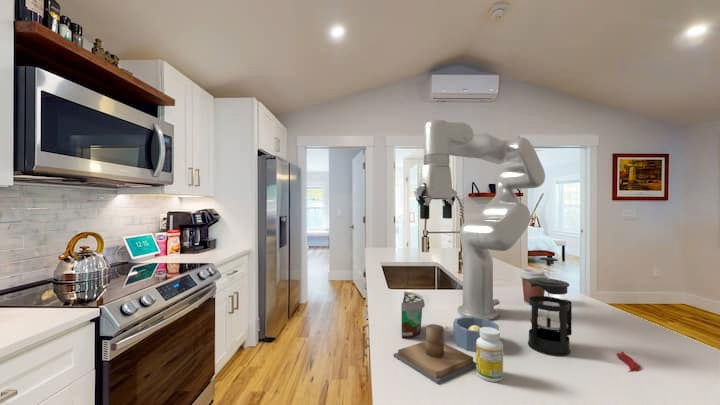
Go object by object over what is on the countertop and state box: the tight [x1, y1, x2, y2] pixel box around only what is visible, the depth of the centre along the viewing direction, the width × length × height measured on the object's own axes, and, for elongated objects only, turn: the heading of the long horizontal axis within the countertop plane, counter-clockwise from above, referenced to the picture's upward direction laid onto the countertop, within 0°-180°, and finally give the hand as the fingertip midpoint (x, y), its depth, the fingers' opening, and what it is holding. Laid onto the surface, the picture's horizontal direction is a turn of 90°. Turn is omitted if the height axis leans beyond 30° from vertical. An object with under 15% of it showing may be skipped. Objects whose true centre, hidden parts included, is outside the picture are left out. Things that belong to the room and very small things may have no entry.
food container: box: [400, 291, 426, 340], centre depth 90 cm, size 12×6×10 cm, turn 168°
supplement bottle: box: [475, 327, 504, 383], centre depth 67 cm, size 5×5×10 cm
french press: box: [527, 256, 573, 357], centre depth 81 cm, size 12×9×23 cm
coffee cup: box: [519, 268, 548, 306], centre depth 118 cm, size 9×9×12 cm
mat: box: [393, 352, 476, 385], centre depth 73 cm, size 13×14×1 cm
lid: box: [397, 323, 474, 378], centre depth 73 cm, size 12×12×7 cm
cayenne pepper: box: [616, 351, 641, 373], centre depth 74 cm, size 12×5×2 cm, turn 136°
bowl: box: [452, 316, 500, 353], centre depth 83 cm, size 11×11×5 cm
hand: (436, 218), depth 95 cm, fingers open, 9 cm apart
